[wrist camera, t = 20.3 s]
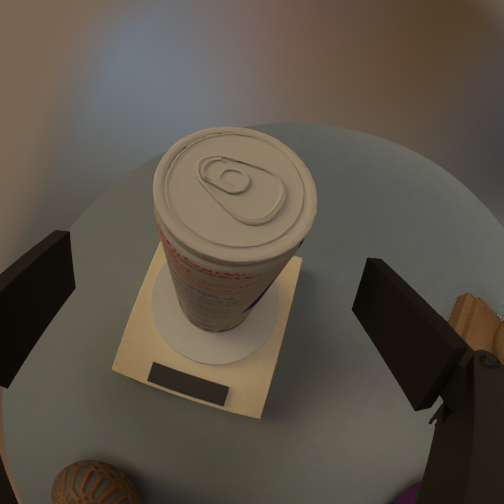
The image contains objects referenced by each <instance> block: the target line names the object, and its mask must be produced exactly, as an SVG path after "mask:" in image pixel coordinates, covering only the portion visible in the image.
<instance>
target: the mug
mask: <svg viewBox="0 0 504 504" xmlns="http://www.w3.org/2000/svg"><path fill="white" fill-rule="evenodd" d="M420 486H421V482H420V483H417V484H415V485H414V486H412V487H410V488H409V489H407V490H406V491H405V492H403V493H402V494H401V495H400V496H399V497H398V498H397V499H396V500H395V501H394V502H393V503H392V504H415V501H416V498H417V495H418V492H419V489H420Z"/></svg>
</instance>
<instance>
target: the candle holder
mask: <svg viewBox="0 0 504 504" xmlns="http://www.w3.org/2000/svg"><path fill="white" fill-rule="evenodd" d="M448 324H449V326H451V327H452V328H453V329H454V330H455V332H457V333H458V334H459V335H460V336H461V337H462V338H463V339H464V340H465V342H466V343H467V344H468V345H469V346H470V347H471V348H472V349H473V350H474V351H476V350H486V351H488V352H490V353H492V354H494V355H495V356H496V357H497V358H498V359H499V360H500V361H501V363H502V364H503V365H504V320H503V321H501V320H500V318H499V317H498V316H497V315H496V314H495V313H494V312H493V310H492V309H491V308H490V307H489V306H488V305H487V304H486V303H485V302H484V301H483V300H481V299H480V298H475V297H474V296H473V295H472V294H470V293H467V294H464V295H462V296H460V297H459V298H458V300H457V302H456V305H455V307H454V310H453V312H452V315H451V318H450V320H449V323H448Z"/></svg>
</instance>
